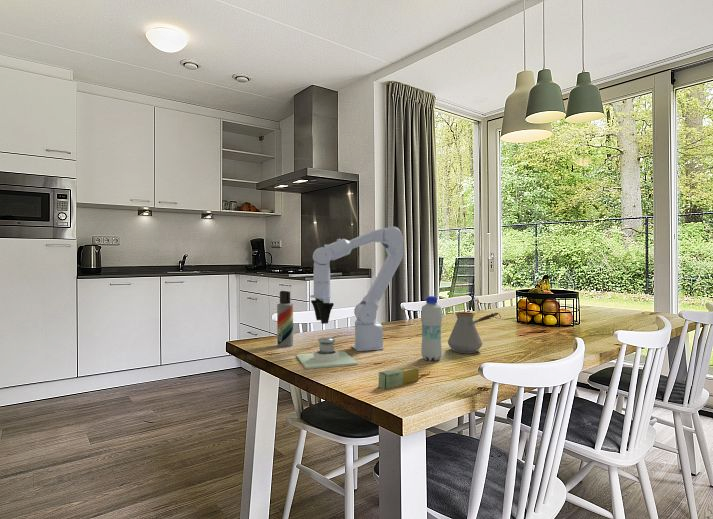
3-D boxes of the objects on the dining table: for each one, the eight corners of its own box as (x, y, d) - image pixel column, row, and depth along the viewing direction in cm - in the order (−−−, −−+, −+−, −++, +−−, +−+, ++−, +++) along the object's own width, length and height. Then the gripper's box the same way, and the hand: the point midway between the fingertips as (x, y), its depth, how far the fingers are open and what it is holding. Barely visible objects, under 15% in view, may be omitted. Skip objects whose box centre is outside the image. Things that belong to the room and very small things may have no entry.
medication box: (384, 390, 108) (384, 374, 108) (377, 387, 110) (377, 371, 110) (419, 381, 115) (419, 366, 115) (411, 379, 117) (412, 364, 117)
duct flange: (343, 352, 147) (343, 345, 147) (358, 364, 132) (358, 356, 132) (296, 356, 142) (296, 348, 142) (305, 369, 127) (305, 360, 127)
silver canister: (338, 357, 138) (338, 338, 138) (326, 360, 134) (326, 341, 134) (326, 355, 141) (326, 336, 141) (314, 358, 137) (314, 339, 137)
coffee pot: (440, 349, 152) (440, 306, 152) (466, 345, 157) (466, 304, 157) (484, 363, 133) (484, 314, 132) (512, 358, 138) (512, 311, 138)
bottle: (443, 357, 140) (443, 295, 140) (440, 362, 134) (440, 297, 133) (422, 356, 142) (422, 294, 142) (418, 360, 136) (418, 296, 135)
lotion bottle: (274, 346, 157) (273, 291, 157) (282, 343, 163) (282, 289, 162) (288, 347, 155) (287, 291, 155) (296, 344, 161) (295, 290, 160)
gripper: (306, 281, 156) (306, 319, 156) (314, 284, 142) (315, 325, 142) (325, 280, 158) (325, 318, 158) (335, 283, 144) (336, 324, 145)
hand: (322, 321), depth 151 cm, fingers open, 7 cm apart
